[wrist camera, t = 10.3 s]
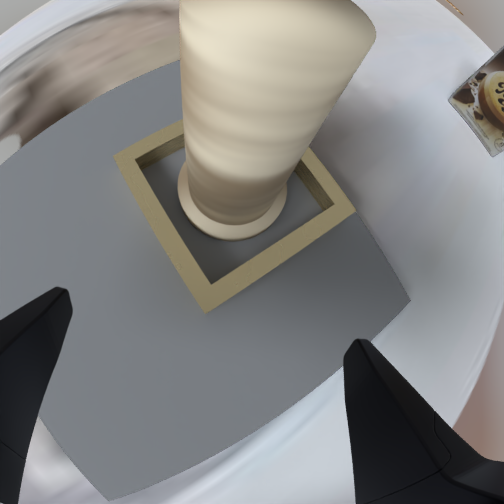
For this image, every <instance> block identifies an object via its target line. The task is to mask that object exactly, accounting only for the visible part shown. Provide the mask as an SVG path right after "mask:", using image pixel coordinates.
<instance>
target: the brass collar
mask: <svg viewBox="0 0 504 504" xmlns="http://www.w3.org/2000/svg"><path fill="white" fill-rule="evenodd" d="M184 147H185V140H184V127H183V119H181V120H179V121H177V122H175V123H173V124H171V125H169V126H167V127H165V128H163V129H161V130H159V131H157V132H155V133H153V134H151V135H149V136H147V137H145V138H144V139H142V140H140V141H138V142H136V143H134V144H133V145H131V146H129V147H127V148H125V149H124V150H122V151H120V152H119V153H117V154H115V155H113V158H114V160H115V162H116V164H117V166H118V168H119V170H120V171H121V173H122V175H123V177H124V179H125V181H126V183H127V185H128V187H129V189H130V190H131V192H132V194H133V196H134V198H135V200H136V201H137V203H138V205H139V207H140V209H141V210H142V212H143V214H144V216H145V218H146V219H147V221H148V223H149V225H150V226H151V228H152V230H153V231H154V233H155V235H156V237H157V238H158V240H159V242H160V243H161V245H162V247H163V248H164V250H165V252H166V253H167V255H168V257H169V258H170V260H171V262H172V263H173V265H174V267H175V268H176V270H177V271H178V273H179V275H180V276H181V278H182V279H183V281H184V282H185V284H186V286H187V287H188V289H189V290H190V292H191V293H192V295H193V296H194V298H195V300H196V301H197V303H198V304H199V306H200V307H201V309H202V310H203V312H204V313H205V314H206V313H208V312H210V311H211V310H213V309H214V308H216V307H217V306H219V305H220V304H222V303H223V302H225V301H226V300H228V299H229V298H231V297H232V296H234V295H235V294H237V293H238V292H240V291H241V290H243V289H244V288H246V287H247V286H249V285H250V284H252V283H253V282H255V281H256V280H258V279H259V278H261V277H262V276H264V275H265V274H267V273H268V272H269V271H271V270H272V269H274V268H275V267H277V266H278V265H280V264H281V263H283V262H284V261H286V260H287V259H288V258H290V257H291V256H293V255H294V254H296V253H297V252H299V251H300V250H302V249H303V248H304V247H306V246H307V245H309V244H310V243H312V242H313V241H314V240H316V239H317V238H319V237H320V236H322V235H323V234H324V233H326V232H327V231H329V230H330V229H332V228H333V227H334V226H336V225H337V224H339V223H340V222H341V221H343V220H344V219H346V218H347V217H348V216H350V215H351V214H353V213H354V212H355V211H356V209H355V208H354V206H353V205H352V203H351V202H350V201H349V199H348V198H347V196H346V195H345V194H344V192H343V191H342V189H341V188H340V187H339V185H338V184H337V183H336V181H335V180H334V179H333V177H332V176H331V175H330V173H329V172H328V171H327V169H326V168H325V167H324V165H323V164H322V163H321V162H320V160H319V159H318V158H317V156H316V155H315V154H314V153H313V151H312V150H311V149H310V148H309V146H308V148H307V150H306V151H305V153H304V154H303V156H302V158H301V159H300V161H299V162H298V164H297V166H296V167H295V169H294V170H293V171H294V172H295V173H296V175H297V176H298V177H299V179H300V180H301V181H302V183H303V184H304V185H305V187H306V188H307V189H308V191H309V192H310V194H311V195H312V196H313V198H314V199H315V200H316V202H317V203H318V205H319V206H320V207H321V209H322V210H323V212H322V213H321V214H319V215H318V216H316V217H314V218H313V219H311V220H310V221H308V222H307V223H305V224H304V225H302V226H301V227H299V228H298V229H296V230H295V231H293V232H292V233H290V234H289V235H287V236H286V237H284V238H282V239H281V240H279V241H278V242H276V243H275V244H273V245H272V246H270V247H269V248H267V249H266V250H264V251H263V252H261V253H260V254H258V255H256V256H255V257H253V258H252V259H250V260H249V261H247V262H246V263H244V264H243V265H241V266H240V267H238V268H236V269H235V270H233V271H232V272H230V273H229V274H227V275H226V276H224V277H223V278H221V279H220V280H218V281H216V282H215V283H213V284H212V285H211V284H210V282H209V281H208V279H207V278H206V276H205V275H204V273H203V272H202V270H201V269H200V267H199V266H198V264H197V262H196V261H195V259H194V258H193V256H192V255H191V253H190V251H189V250H188V248H187V247H186V245H185V243H184V242H183V240H182V239H181V237H180V235H179V234H178V232H177V231H176V229H175V227H174V226H173V224H172V222H171V221H170V219H169V217H168V216H167V214H166V212H165V211H164V209H163V207H162V206H161V204H160V202H159V201H158V199H157V197H156V196H155V194H154V192H153V191H152V189H151V187H150V185H149V184H148V182H147V180H146V178H145V177H144V175H143V173H142V170H144V169H145V168H147V167H149V166H151V165H152V164H154V163H156V162H158V161H160V160H161V159H163V158H165V157H167V156H169V155H171V154H173V153H175V152H176V151H178V150H180V149H182V148H184Z"/></svg>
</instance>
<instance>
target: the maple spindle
mask: <svg viewBox="0 0 504 504" xmlns="http://www.w3.org/2000/svg"><path fill="white" fill-rule="evenodd" d="M179 26H180V71H181V94H182V111H183V127H184V140H185V152H186V161H185V162H184V164H183V166H182V168H181V170H180V173H179V177H178V194H179V200H180V204H181V207H182V210H183V212H184V214H185V216H186V217H187V219H188V220H189V222H190V223H191V224H192V225H193V226H194V227H195V228H196V229H197V230H199V231H200V232H202V233H203V234H205V235H207V236H209V237H211V238H214V239H217V240H222V241H230V242H234V241H243V240H247V239H251V238H253V237H255V236H258V235H259V234H261V233H263V232H264V231H265V230H266V229H268V228H269V227H270V226H271V225H272V223H273V222H274V221H275V220H276V218H277V217H278V216H279V214H280V212H281V211H282V209H283V207H284V204H285V201H286V196H287V183H286V182H287V180H288V178H289V177H290V175H291V174H292V172H293V170H294V169H295V167H296V166H297V164H298V162H299V161H300V159H301V158H302V156H303V154H304V153H305V151H306V150H307V148H308V146H309V145H310V143H311V142H312V140H313V138H314V137H315V135H316V134H317V132H318V130H319V129H320V127H321V126H322V124H323V122H324V121H325V119H326V118H327V116H328V114H329V113H330V111H331V110H332V108H333V107H334V105H335V103H336V102H337V100H338V99H339V97H340V95H341V94H342V92H343V91H344V89H345V88H346V86H347V84H348V83H349V81H350V80H351V78H352V77H353V75H354V73H355V72H356V70H357V69H358V67H359V66H360V64H361V62H362V61H363V59H364V58H365V56H366V55H367V53H368V51H369V50H370V48H371V47H372V45H373V44H374V42H375V39H376V31H375V27H374V25H373V23H372V21H371V20H370V19H369V17H368V16H367V15H366V14H365V13H364V11H363V10H362V9H361V8H359V7H358V6H357V5H356V4H355V3H354V2H352V1H351V0H180V10H179Z"/></svg>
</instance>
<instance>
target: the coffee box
mask: <svg viewBox="0 0 504 504" xmlns="http://www.w3.org/2000/svg"><path fill="white" fill-rule="evenodd" d="M449 102H450V103H451V104H452V106H453V107H454V108H455V109H456V110H457V111H458V113H459V114H460V115H461V116H462V117H463V119H464V120H465V121H466V122H467V124H468V125H469V126H470V127H471V129H472V130H473V131H474V133H475V134H476V135H477V137H478V138H479V139H480V141H481V142H482V143H483V145H484V146H485V148H486V149H487V150H488V152H489V153H490V155H491V156H492V157H494V156H496V155H497V154H499V153H500V152H502V151H503V150H504V46H503V47H502V48H501V49H500V50H499V51H497V53H495V54H494V55H493V56H492V57H491V58H490V59H489V60H488V61H487V62H486V63H485V64H484V65H483V66H481V67H480V68H479V69H478V70H477V71H476V72H475V73H474V74H473V75H472V76H471V77H469V78H468V79H467V80H466V81H465V82H464V83H463V84H462V85H461V86H460V87H459V88H458V89H457V90H456V91H455V92H454V93H453V94H452V95H451V97H450V98H449Z"/></svg>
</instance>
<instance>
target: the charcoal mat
mask: <svg viewBox="0 0 504 504" xmlns="http://www.w3.org/2000/svg"><path fill="white" fill-rule="evenodd" d="M181 119H183V111H182V94H181V71H180V60H178V61H175V62H173V63H170V64H168V65H165V66H163V67H160V68H158V69H155V70H153V71H150V72H148V73H146V74H144V75H141V76H139V77H137V78H135V79H133V80H130V81H128V82H126V83H124V84H122V85H120V86H118V87H116V88H114V89H112V90H110V91H108V92H106V93H105V94H103V95H101V96H99V97H97V98H95V99H94V100H92V101H90V102H88V103H87V104H85V105H83V106H81V107H80V108H78V109H76V110H75V111H73V112H72V113H70V114H68V115H67V116H65V117H64V118H62V119H61V120H59V121H58V122H56V123H55V124H53V125H52V126H50V127H49V128H47V129H46V130H45V131H43V132H42V133H40V134H39V135H38V136H36V137H35V138H34V139H32V140H31V141H30V142H28V143H27V144H26V145H24V146H23V147H22V148H21V149H19V150H18V151H17V152H16V153H14V154H13V155H12V156H11V157H10V158H8V159H7V160H6V161H5V162H4V163H3V164H2V165H0V320H1V319H3V318H4V317H6V316H7V315H9V314H11V313H12V312H14V311H15V310H17V309H19V308H20V307H22V306H24V305H25V304H27V303H29V302H30V301H32V300H34V299H35V298H37V297H39V296H40V295H42V294H44V293H45V292H47V291H49V290H51V289H52V288H54V287H57V286H58V287H62V288H65V289H67V290H68V291H69V294H70V299H71V303H72V307H73V314H72V318H71V321H70V324H69V327H68V330H67V333H66V336H65V339H64V342H63V346H62V349H61V352H60V355H59V358H58V361H57V363H56V366H55V368H54V371H53V373H52V376H51V379H50V381H49V384H48V387H47V389H46V392H45V395H44V398H43V401H42V404H41V407H40V410H39V413H38V416H39V417H40V419H41V420H42V422H43V423H44V425H45V426H46V428H47V429H48V431H49V432H50V433H51V435H52V436H53V438H54V439H55V440H56V442H57V443H58V444H59V446H60V447H61V448H62V450H63V451H64V452H65V454H66V455H67V456H68V457H69V459H70V460H71V461H72V462H73V463H74V465H75V466H76V467H77V468H78V469H79V470H80V472H81V473H82V474H83V475H84V476H85V477H86V478H87V479H88V481H89V482H90V483H91V484H92V485H93V486H94V487H95V488H96V489H97V490H98V491H99V492H100V493H101V494H102V495H103V496H104V497H105V498H106V499H107V500H108V501H111V500H114V499H117V498H120V497H123V496H126V495H129V494H131V493H134V492H137V491H139V490H142V489H144V488H147V487H149V486H152V485H154V484H156V483H159V482H161V481H163V480H166V479H168V478H170V477H172V476H174V475H177V474H179V473H181V472H183V471H185V470H187V469H189V468H191V467H193V466H195V465H197V464H199V463H201V462H203V461H205V460H206V459H208V458H210V457H212V456H214V455H216V454H218V453H219V452H221V451H223V450H225V449H226V448H228V447H230V446H232V445H233V444H235V443H237V442H238V441H240V440H242V439H243V438H245V437H246V436H248V435H250V434H251V433H253V432H254V431H256V430H258V429H259V428H261V427H262V426H264V425H265V424H267V423H268V422H270V421H271V420H273V419H274V418H276V417H277V416H279V415H280V414H281V413H283V412H284V411H286V410H287V409H288V408H290V407H291V406H293V405H294V404H295V403H297V402H298V401H299V400H301V399H302V398H303V397H305V396H306V395H307V394H309V393H310V392H311V391H313V390H314V389H315V388H316V387H318V386H319V385H320V384H322V383H323V382H324V381H325V380H327V379H328V378H329V377H330V376H331V375H333V374H334V373H335V372H336V371H337V370H339V369H340V368H341V367H342V366H343V358H344V354H345V353H346V351H347V350H348V348H349V347H350V345H351V344H352V342H353V341H354V340H355V339H357V338H360V339H367V340H369V341H371V340H372V339H373V338H374V337H375V336H376V335H377V334H378V333H380V332H381V331H382V330H383V329H384V328H385V327H386V326H387V325H388V324H389V323H390V322H391V321H392V320H393V319H394V318H395V317H396V316H397V314H398V313H399V312H400V311H401V310H402V309H403V308H404V307H405V306H406V305H407V304H408V303H409V302H410V301H411V300H410V299H409V297H408V295H407V293H406V291H405V290H404V288H403V286H402V284H401V283H400V281H399V279H398V277H397V276H396V274H395V272H394V271H393V269H392V267H391V266H390V264H389V262H388V261H387V259H386V257H385V256H384V254H383V253H382V251H381V249H380V248H379V246H378V245H377V243H376V241H375V240H374V238H373V237H372V235H371V234H370V232H369V231H368V229H367V228H366V226H365V225H364V223H363V222H362V220H361V219H360V217H359V216H358V214H357V213H356V211H355V212H354V213H353V214H351V215H350V216H348V217H347V218H346V219H344V220H343V221H341V222H340V223H339V224H337V225H336V226H334V227H333V228H332V229H330V230H329V231H327V232H326V233H324V234H323V235H322V236H320V237H319V238H317V239H316V240H314V241H313V242H312V243H310V244H309V245H307V246H306V247H304V248H303V249H302V250H300V251H299V252H297V253H296V254H294V255H293V256H291V257H290V258H288V259H287V260H286V261H284V262H283V263H281V264H280V265H278V266H277V267H275V268H274V269H272V270H271V271H269V272H268V273H267V274H265V275H264V276H262V277H261V278H259V279H258V280H256V281H255V282H253V283H252V284H250V285H249V286H247V287H246V288H244V289H243V290H241V291H240V292H238V293H237V294H235V295H234V296H232V297H231V298H229V299H228V300H226V301H225V302H223V303H222V304H220V305H219V306H217V307H216V308H214V309H213V310H211V311H210V312H208V313H206V314H205V313H204V312H203V310H202V309H201V307H200V306H199V304H198V303H197V301H196V300H195V298H194V296H193V295H192V293H191V292H190V290H189V289H188V287H187V286H186V284H185V282H184V281H183V279H182V278H181V276H180V275H179V273H178V271H177V270H176V268H175V267H174V265H173V263H172V262H171V260H170V258H169V257H168V255H167V253H166V252H165V250H164V248H163V247H162V245H161V243H160V242H159V240H158V238H157V237H156V235H155V233H154V231H153V230H152V228H151V226H150V225H149V223H148V221H147V219H146V218H145V216H144V214H143V212H142V210H141V209H140V207H139V205H138V203H137V201H136V200H135V198H134V196H133V194H132V192H131V190H130V189H129V187H128V185H127V183H126V181H125V179H124V177H123V175H122V173H121V171H120V170H119V168H118V166H117V164H116V162H115V160H114V158H113V155H115V154H117V153H119V152H120V151H122V150H124V149H125V148H127V147H129V146H131V145H133V144H134V143H136V142H138V141H140V140H142V139H144V138H145V137H147V136H149V135H151V134H153V133H155V132H157V131H159V130H161V129H163V128H165V127H167V126H169V125H171V124H173V123H175V122H177V121H179V120H181ZM185 161H186V152H185V147H184V148H182V149H180V150H178V151H176V152H175V153H173V154H171V155H169V156H167V157H165V158H163V159H161V160H160V161H158V162H156V163H154V164H152V165H151V166H149V167H147V168H145V169H144V170H142V173H143V175H144V177H145V178H146V180H147V182H148V184H149V185H150V187H151V189H152V191H153V192H154V194H155V196H156V197H157V199H158V201H159V202H160V204H161V206H162V207H163V209H164V211H165V212H166V214H167V216H168V217H169V219H170V221H171V222H172V224H173V226H174V227H175V229H176V231H177V232H178V234H179V235H180V237H181V239H182V240H183V242H184V243H185V245H186V247H187V248H188V250H189V251H190V253H191V255H192V256H193V258H194V259H195V261H196V262H197V264H198V266H199V267H200V269H201V270H202V272H203V273H204V275H205V276H206V278H207V279H208V281H209V282H210V284H211V285H212V284H213V283H215V282H216V281H218V280H220V279H221V278H223V277H224V276H226V275H227V274H229V273H230V272H232V271H233V270H235V269H236V268H238V267H240V266H241V265H243V264H244V263H246V262H247V261H249V260H250V259H252V258H253V257H255V256H256V255H258V254H260V253H261V252H263V251H264V250H266V249H267V248H269V247H270V246H272V245H273V244H275V243H276V242H278V241H279V240H281V239H282V238H284V237H286V236H287V235H289V234H290V233H292V232H293V231H295V230H296V229H298V228H299V227H301V226H302V225H304V224H305V223H307V222H308V221H310V220H311V219H313V218H314V217H316V216H318V215H319V214H321V213H322V212H323V210H322V209H321V207H320V206H319V205H318V203H317V202H316V200H315V199H314V198H313V196H312V195H311V194H310V192H309V191H308V189H307V188H306V187H305V185H304V184H303V183H302V181H301V180H300V179H299V177H298V176H297V175H296V173H295V172H294V171H293V172H292V174H291V175H290V177H289V178H288V180H287V182H286V183H287V196H286V201H285V204H284V207H283V209H282V211H281V212H280V214H279V216H278V217H277V218H276V220H275V221H274V222H273V223H272V225H271V226H270V227H269V228H268V229H266V230H265V231H264V232H263V233H261V234H259V235H258V236H255V237H253V238H251V239H247V240H243V241H234V242H230V241H222V240H217V239H214V238H211V237H209V236H207V235H205V234H203V233H202V232H200V231H199V230H197V229H196V228H195V227H194V226H193V225H192V224H191V223H190V222H189V220H188V219H187V217H186V216H185V214H184V212H183V210H182V207H181V204H180V200H179V194H178V177H179V173H180V170H181V168H182V166H183V164H184V162H185Z"/></svg>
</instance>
